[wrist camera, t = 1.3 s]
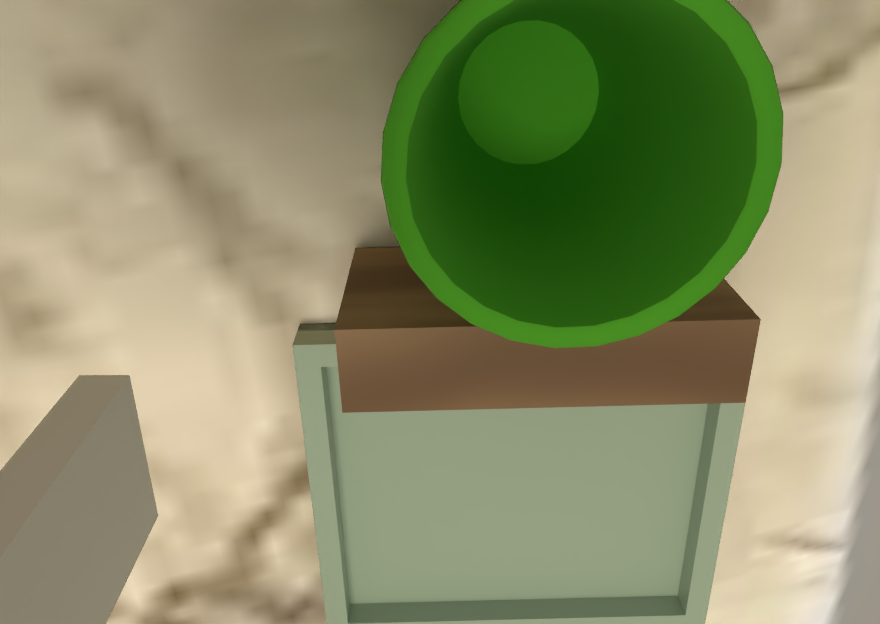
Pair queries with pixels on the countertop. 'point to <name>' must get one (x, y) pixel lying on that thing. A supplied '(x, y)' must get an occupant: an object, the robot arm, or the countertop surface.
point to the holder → (524, 353)
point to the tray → (513, 507)
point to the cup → (581, 162)
